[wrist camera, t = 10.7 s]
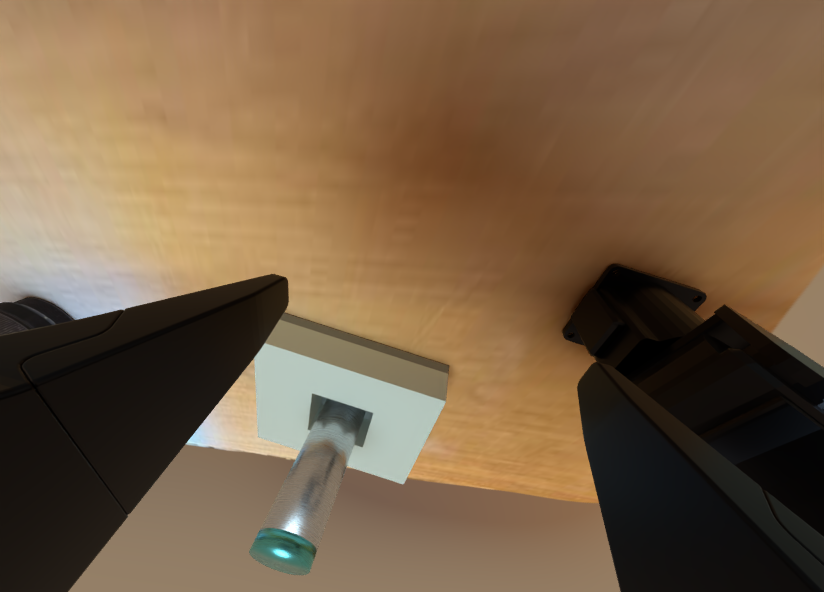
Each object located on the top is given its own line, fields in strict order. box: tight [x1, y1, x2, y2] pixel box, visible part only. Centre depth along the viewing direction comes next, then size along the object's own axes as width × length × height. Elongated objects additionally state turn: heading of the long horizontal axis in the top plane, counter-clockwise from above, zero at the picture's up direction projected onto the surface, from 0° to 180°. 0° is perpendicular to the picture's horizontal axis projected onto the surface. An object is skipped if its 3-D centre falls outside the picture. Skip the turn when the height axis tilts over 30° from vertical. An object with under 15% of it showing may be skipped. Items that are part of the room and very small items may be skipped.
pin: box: [249, 398, 366, 575], centre depth 24 cm, size 4×4×13 cm
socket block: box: [254, 313, 449, 484], centre depth 29 cm, size 16×14×4 cm
